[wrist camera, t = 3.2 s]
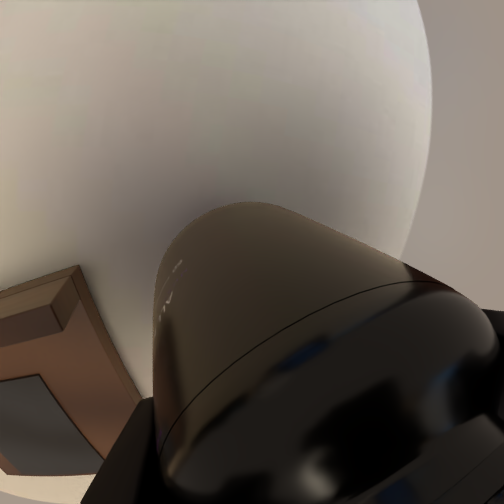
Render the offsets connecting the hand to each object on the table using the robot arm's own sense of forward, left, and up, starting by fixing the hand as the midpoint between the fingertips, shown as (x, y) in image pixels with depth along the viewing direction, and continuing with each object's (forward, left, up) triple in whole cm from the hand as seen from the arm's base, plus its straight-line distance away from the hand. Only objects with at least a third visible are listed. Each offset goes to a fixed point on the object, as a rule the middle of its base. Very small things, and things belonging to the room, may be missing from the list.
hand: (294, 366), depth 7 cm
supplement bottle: (0, 0, -5) cm, 5 cm away
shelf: (-5, +15, -9) cm, 18 cm away
